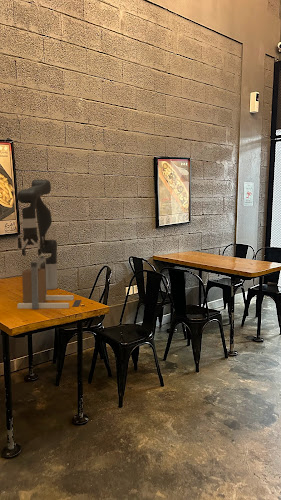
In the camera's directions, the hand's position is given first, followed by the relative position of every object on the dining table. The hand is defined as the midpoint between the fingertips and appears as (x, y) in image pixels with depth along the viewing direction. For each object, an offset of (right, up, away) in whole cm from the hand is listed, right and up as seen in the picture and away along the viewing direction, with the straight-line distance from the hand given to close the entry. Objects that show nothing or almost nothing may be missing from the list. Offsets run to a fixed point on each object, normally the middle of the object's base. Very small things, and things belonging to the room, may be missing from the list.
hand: (31, 255), depth 216 cm
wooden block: (0, -28, +8) cm, 29 cm away
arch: (+3, -28, +8) cm, 29 cm away
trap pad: (+24, -28, +8) cm, 38 cm away
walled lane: (+7, -28, +8) cm, 30 cm away
